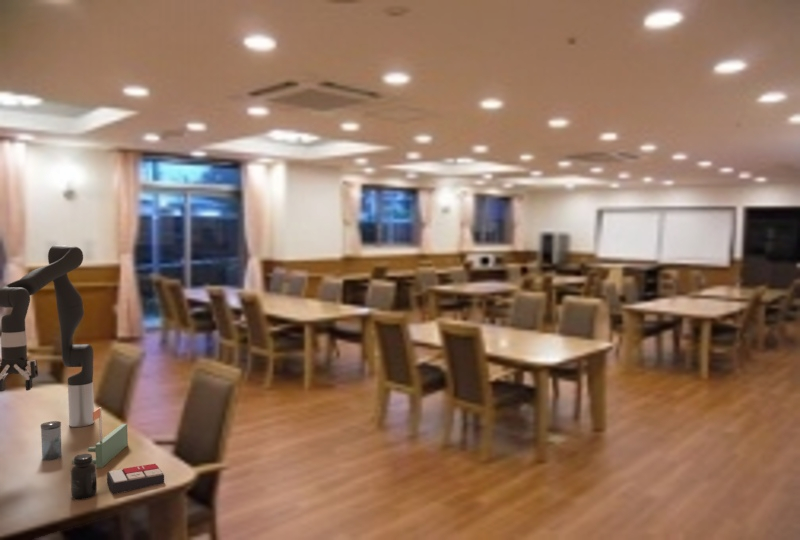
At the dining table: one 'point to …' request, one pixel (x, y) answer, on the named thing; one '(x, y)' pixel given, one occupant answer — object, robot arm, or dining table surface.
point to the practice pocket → (108, 442)
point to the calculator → (134, 478)
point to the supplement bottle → (83, 477)
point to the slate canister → (51, 440)
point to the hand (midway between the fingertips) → (15, 390)
